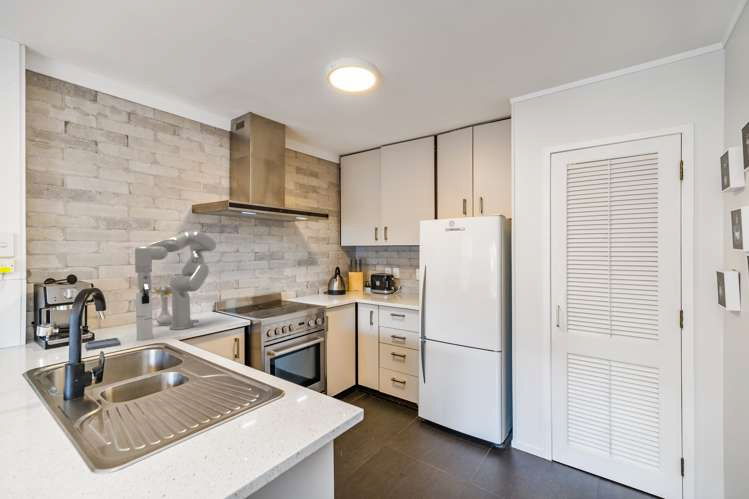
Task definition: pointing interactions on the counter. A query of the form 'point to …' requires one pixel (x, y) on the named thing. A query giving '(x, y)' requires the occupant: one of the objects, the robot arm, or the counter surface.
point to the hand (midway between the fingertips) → (144, 302)
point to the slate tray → (102, 343)
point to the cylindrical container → (144, 317)
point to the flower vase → (163, 305)
